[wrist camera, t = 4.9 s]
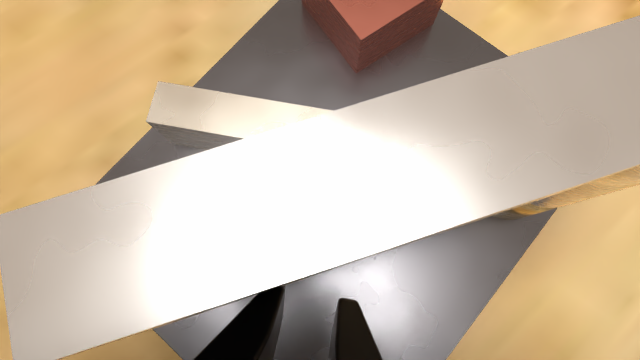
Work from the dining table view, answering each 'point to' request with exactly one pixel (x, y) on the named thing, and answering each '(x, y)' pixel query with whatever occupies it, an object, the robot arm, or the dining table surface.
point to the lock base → (385, 281)
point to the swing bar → (323, 193)
